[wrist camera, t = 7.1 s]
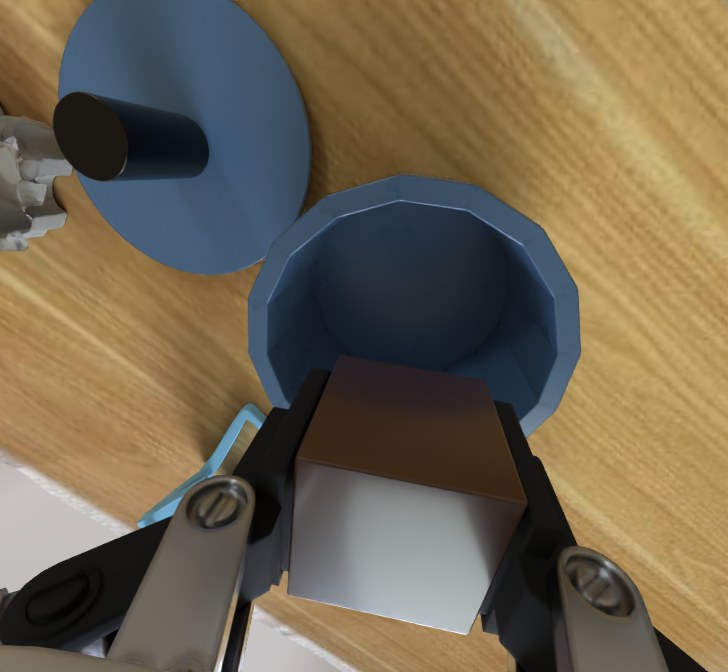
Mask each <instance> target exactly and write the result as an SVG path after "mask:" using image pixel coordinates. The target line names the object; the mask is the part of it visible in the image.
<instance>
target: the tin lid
mask: <svg viewBox="0 0 728 672" xmlns="http://www.w3.org/2000/svg"><path fill="white" fill-rule="evenodd" d="M58 96H59V102H58V104H57V106H56V108H55V111H54V115H53V129H54V135H55V138H56V141H57V144H58V146H59V148H60V150H61V152H62V154H63V156H64V157H65V158H66V160H67V161H68V162H69V163H70V165H71V166H72V167H73V168H74V169H75V171H76V173H77V176H78V178H79V180H80V182H81V184H82V186H83V187H84V189H85V191H86V193H87V194H88V196H89V198H90V199H91V201H92V202H93V204H94V205H95V206H96V208H97V209H98V211H99V212H100V213H101V215H102V216H103V217H104V218H105V219H106V221H107V222H108V223H109V224H110V225H111V226H112V227H113V228H114V229H115V230H116V231H117V232H118V233H119V234H120V235H121V236H122V237H123V238H124V239H125V240H126V241H128V242H129V243H130V244H131V245H133V246H134V247H135V248H136V249H138V250H139V251H141V252H142V253H144V254H146V255H147V256H149V257H150V258H152V259H154V260H156V261H158V262H160V263H162V264H164V265H167V266H169V267H172V268H175V269H178V270H181V271H186V272H190V273H195V274H205V275H213V274H225V273H231V272H235V271H238V270H241V269H244V268H247V267H249V266H251V265H253V264H255V263H257V262H259V261H261V260H262V259H264V258H265V257H266V256H267V254H268V251H269V249H270V247H271V245H272V242H274V240H275V239H276V238H277V237H278V236H279V235H280V234H282V233H283V232H284V231H285V230H286V229H287V228H289V227H290V226H291V225H292V224H293V223H294V222H295V221H297V220H298V218H299V216H300V214H301V211H302V209H303V206H304V204H305V201H306V197H307V193H308V189H309V185H310V178H311V169H312V142H311V134H310V125H309V121H308V117H307V112H306V108H305V104H304V101H303V98H302V95H301V93H300V90H299V87H298V84H297V82H296V80H295V78H294V76H293V74H292V72H291V69H290V67H289V65H288V64H287V62H286V60H285V59H284V57H283V56H282V54H281V52H280V51H279V49H278V47H277V46H276V45H275V43H274V42H273V41H272V40H271V38H270V37H269V36H268V35H267V33H266V32H265V31H264V29H263V28H262V27H261V26H260V25H259V24H258V23H257V22H256V21H255V20H254V19H253V18H252V17H251V16H250V15H249V14H248V13H246V12H245V11H244V10H243V9H242V8H240V7H239V6H238V5H237V4H235V3H234V2H233V1H231V0H94V1H93V2H92V3H91V4H90V5H89V6H88V7H87V8H86V9H85V11H84V12H83V14H82V15H81V16H80V18H79V19H78V20H77V22H76V24H75V26H74V28H73V30H72V32H71V34H70V36H69V38H68V41H67V44H66V47H65V50H64V53H63V58H62V63H61V68H60V74H59V89H58Z"/></svg>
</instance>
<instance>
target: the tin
mask: <svg viewBox="0 0 728 672" xmlns="http://www.w3.org/2000/svg"><path fill="white" fill-rule="evenodd" d="M248 339H249V354H250V358H251V360H252V362H253V364H254V367H255V369H256V371H257V374H258V376H259V378H260V381H261V383H262V385H263V387H264V390H265V392H266V394H267V397H268V399H269V401H270V403H271V404H272V406H273V407H279V408H284V409H289V407H290V406H291V404H292V402H293V400H294V398H295V396H296V394H297V393H298V391H299V389H300V387H301V385H302V383H303V382H304V380H305V378H306V376H307V374H308V372H309V371H310V369H311V368H317V369H323V370H328V371H330V372H331V373H332V371H333V368H334V366H335V364H336V361H337V359H338V357H339V355H346V356H351V357H357V358H363V359H368V360H374V361H380V362H385V363H391V364H397V365H402V366H408V367H414V368H419V369H425V370H431V371H436V372H442V373H448V374H453V375H459V376H465V377H470V378H476V379H482V380H486V381H487V384H488V387H489V390H490V393H491V396H492V399H493V400H495V401H501V402H506V403H510V404H512V406H513V409H514V411H515V413H516V416H517V418H518V421H519V423H520V425H521V428H522V430H523V433H524V435H525V438H527V437H528V436H529V435H530V434H531V433H532V432H534V431H535V430H536V429H537V428H538V427H539V426H540V425H541V424H542V423H543V422H544V421H545V420H546V419H547V418H548V417H549V416H551V415H552V414H553V413H554V412H555V411H556V409H557V408H558V405H559V403H560V401H561V399H562V396H563V394H564V392H565V389H566V387H567V385H568V383H569V380H570V378H571V376H572V374H573V371H574V369H575V367H576V364H577V362H578V360H579V358H580V355H581V354H580V353H581V342H580V319H579V295H578V289H577V286H576V284H575V282H574V280H573V279H572V277H571V275H570V273H569V272H568V270H567V268H566V267H565V265H564V263H563V261H562V260H561V258H560V256H559V254H558V253H557V251H556V249H555V248H554V246H553V244H552V242H551V241H550V239H549V237H548V235H547V234H546V232H545V230H544V229H543V228H541V226H540V225H538V224H537V223H535V222H534V221H532V220H531V219H529V218H528V217H526V216H525V215H523V214H522V213H520V212H519V211H517V210H516V209H514V208H512V207H511V206H509V205H508V204H506V203H505V202H503V201H502V200H500V199H499V198H497V197H496V196H494V195H493V194H491V193H490V192H488V191H487V190H485V189H483V188H482V187H480V186H477V185H475V184H471V183H467V182H464V181H460V180H456V179H451V178H444V177H436V176H430V175H422V174H415V173H408V172H406V173H401V174H397V175H393V176H390V177H386V178H383V179H380V180H376V181H373V182H369V183H366V184H363V185H359V186H356V187H352V188H349V189H345V190H342V191H339V192H335V193H332V194H328V195H327V196H325V197H323V198H322V199H321V200H320V201H318V202H317V203H316V204H315V205H314V206H313V207H312V208H310V209H309V210H308V211H307V212H306V213H305V214H303V215H302V216H301V217H300V218H299V219H298V220H297V221H295V222H294V223H293V224H292V225H291V226H290V227H289V228H287V229H286V230H285V231H284V232H283V233H282V234H280V235H279V236H278V237H277V238H276V239H275V240H274V242H272V245H271V247H270V249H269V251H268V254H267V256H266V258H265V260H264V263H263V265H262V267H261V269H260V272H259V274H258V276H257V279H256V281H255V283H254V285H253V288H252V290H251V292H250V294H249V298H248Z"/></svg>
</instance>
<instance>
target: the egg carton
mask: <svg viewBox="0 0 728 672" xmlns="http://www.w3.org/2000/svg"><path fill="white" fill-rule="evenodd" d="M71 173H72V166H71V165H70V163H69V162H68V161H67V160H66V158H65V157H64V156H63V154H62V152H61V150H60V148H59V146H58V144H57V141H56V138H55V135H54V130H53V129H52V128H51V127H50V126H48V125H47V124H45V123H43V122H40V121H36V120H32V119H30V118H28V117H25V116H23V115H22V117H13V116H6V115H4V113H3V111H2V109H1V106H0V251H26V249H27V248H28V247H29V243H28V241H27V240H26V238H30V237H39V236H44V234H45V233H46V232H47V230H50V229H58V228H60V227H62V226H63V225H64V224H65V219H66V217H67V213H66V212H65V211H63V210H62V209H61V208H60V207H58V206H57V204H56V202H55V200H54V197H53V192H52V182H53V179H54V178H55V177H56V176H69V175H71Z"/></svg>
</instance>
